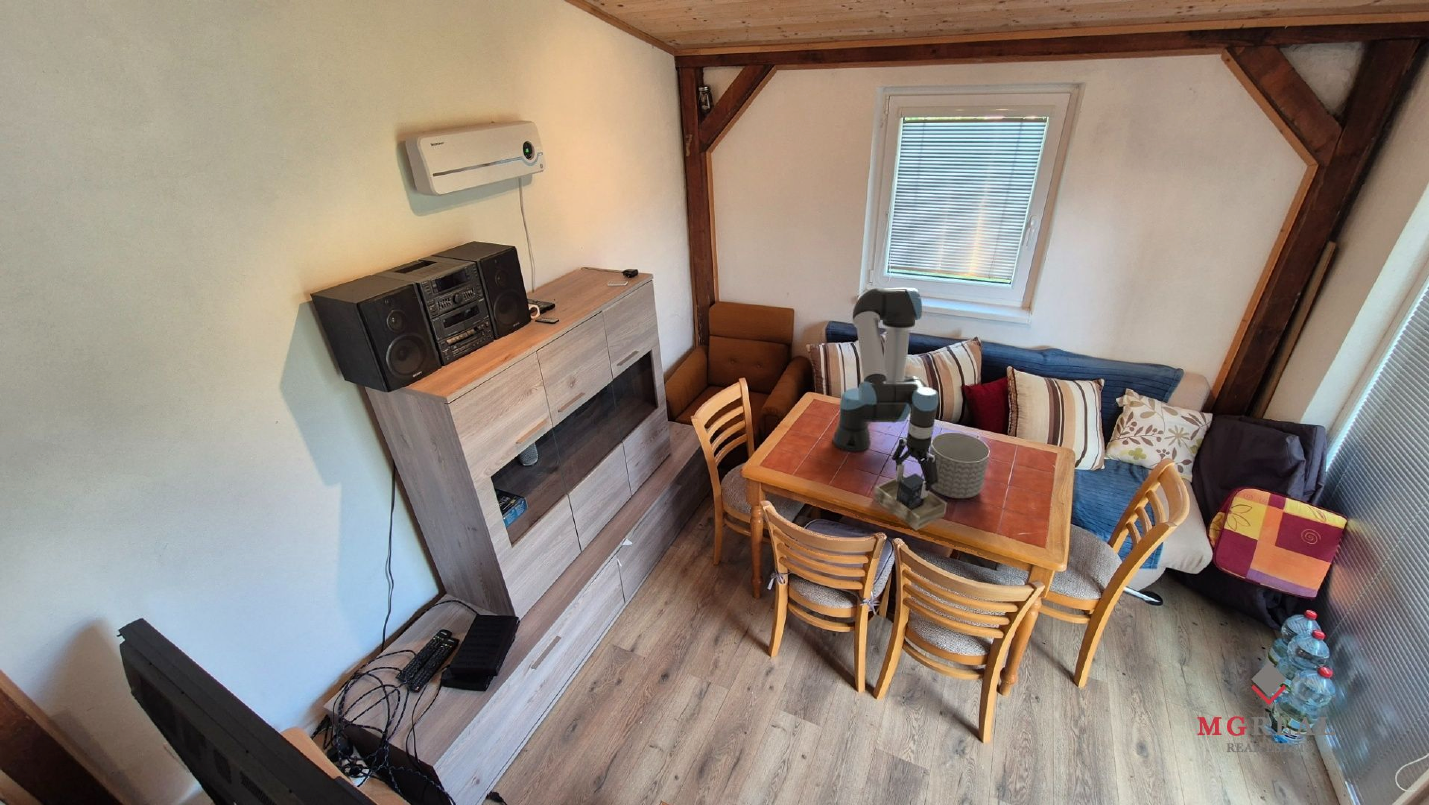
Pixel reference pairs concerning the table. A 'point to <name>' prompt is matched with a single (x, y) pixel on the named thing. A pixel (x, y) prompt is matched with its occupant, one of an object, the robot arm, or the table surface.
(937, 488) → the planter
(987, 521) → the table surface
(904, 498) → the box
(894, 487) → the crate
